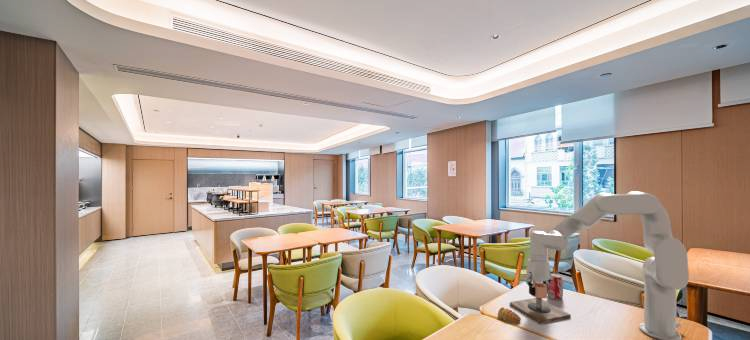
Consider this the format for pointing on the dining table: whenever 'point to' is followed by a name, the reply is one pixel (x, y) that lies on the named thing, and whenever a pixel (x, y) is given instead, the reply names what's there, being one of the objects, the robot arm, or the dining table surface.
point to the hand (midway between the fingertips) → (538, 293)
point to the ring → (540, 290)
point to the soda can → (556, 287)
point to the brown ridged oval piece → (508, 315)
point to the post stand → (540, 310)
